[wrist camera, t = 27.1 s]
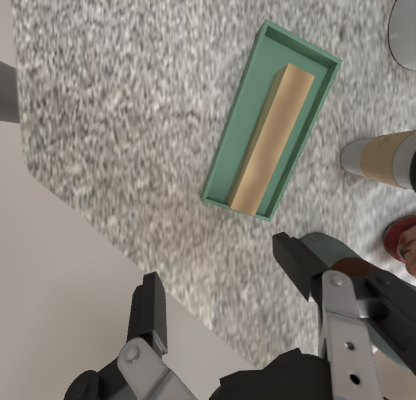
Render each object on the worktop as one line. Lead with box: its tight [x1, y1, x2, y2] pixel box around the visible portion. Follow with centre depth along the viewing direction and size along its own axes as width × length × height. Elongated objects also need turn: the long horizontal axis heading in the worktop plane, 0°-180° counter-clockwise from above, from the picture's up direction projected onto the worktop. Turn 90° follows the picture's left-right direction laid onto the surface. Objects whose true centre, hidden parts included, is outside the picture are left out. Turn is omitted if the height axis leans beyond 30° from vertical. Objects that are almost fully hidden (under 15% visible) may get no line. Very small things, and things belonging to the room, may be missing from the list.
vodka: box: [301, 233, 416, 373], centre depth 26 cm, size 9×9×30 cm
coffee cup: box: [341, 130, 416, 192], centre depth 29 cm, size 9×9×15 cm
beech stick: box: [225, 63, 315, 216], centre depth 31 cm, size 4×22×4 cm, turn 160°
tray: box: [201, 19, 342, 222], centre depth 32 cm, size 27×13×3 cm, turn 161°
